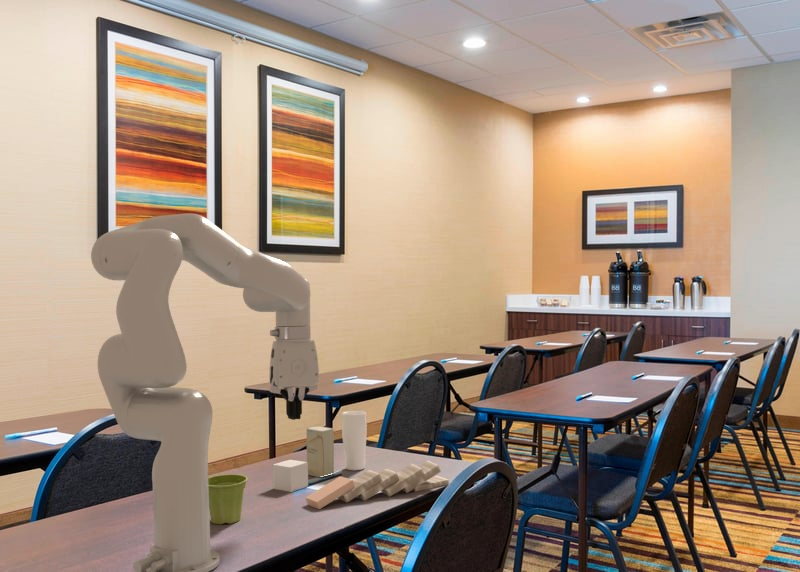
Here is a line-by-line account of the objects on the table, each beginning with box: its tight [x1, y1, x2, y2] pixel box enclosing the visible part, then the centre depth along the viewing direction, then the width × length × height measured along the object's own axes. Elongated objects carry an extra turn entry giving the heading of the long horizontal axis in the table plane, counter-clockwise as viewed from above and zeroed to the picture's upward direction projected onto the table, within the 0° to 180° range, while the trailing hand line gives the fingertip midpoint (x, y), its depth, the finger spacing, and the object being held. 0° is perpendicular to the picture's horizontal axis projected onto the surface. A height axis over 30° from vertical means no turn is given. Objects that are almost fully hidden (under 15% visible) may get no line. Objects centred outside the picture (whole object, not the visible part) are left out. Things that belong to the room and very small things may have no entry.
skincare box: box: [306, 425, 335, 478], centre depth 197 cm, size 6×4×12 cm
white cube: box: [272, 459, 309, 493], centre depth 186 cm, size 6×6×6 cm
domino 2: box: [337, 469, 382, 503], centre depth 175 cm, size 2×5×10 cm
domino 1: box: [305, 475, 355, 510], centre depth 171 cm, size 2×5×10 cm
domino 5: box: [401, 460, 441, 494], centre depth 181 cm, size 2×5×10 cm
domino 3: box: [356, 468, 399, 502], centre depth 177 cm, size 2×5×10 cm
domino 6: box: [411, 475, 450, 492], centre depth 184 cm, size 2×5×10 cm
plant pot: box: [208, 473, 249, 525], centre depth 161 cm, size 9×9×9 cm
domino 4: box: [380, 463, 424, 498], centre depth 179 cm, size 2×5×10 cm
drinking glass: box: [340, 410, 368, 471], centre depth 203 cm, size 7×7×15 cm
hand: (294, 418), depth 165 cm, fingers closed
